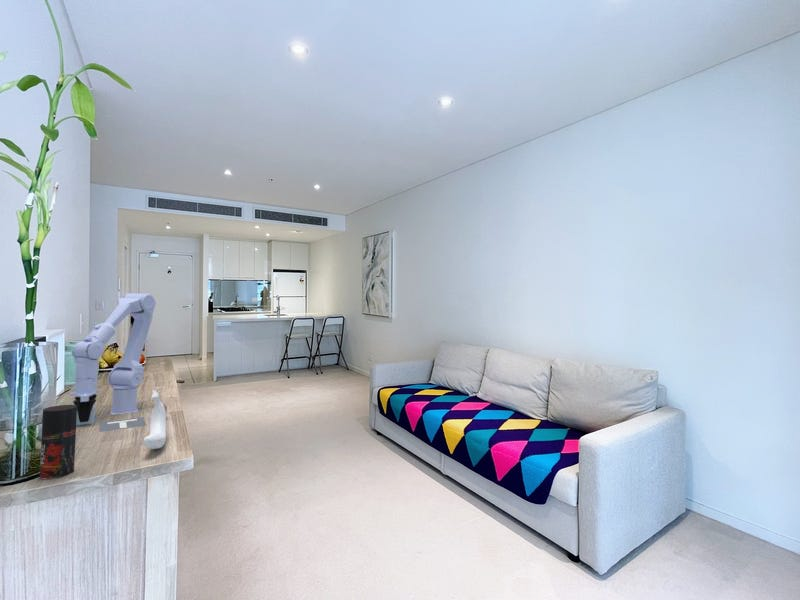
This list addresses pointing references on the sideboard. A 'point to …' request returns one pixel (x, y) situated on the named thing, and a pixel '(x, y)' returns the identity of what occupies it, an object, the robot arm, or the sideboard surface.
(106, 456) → the sideboard surface
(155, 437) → the white curved piece
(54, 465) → the deodorant
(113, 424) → the letter card
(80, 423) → the blue cube
